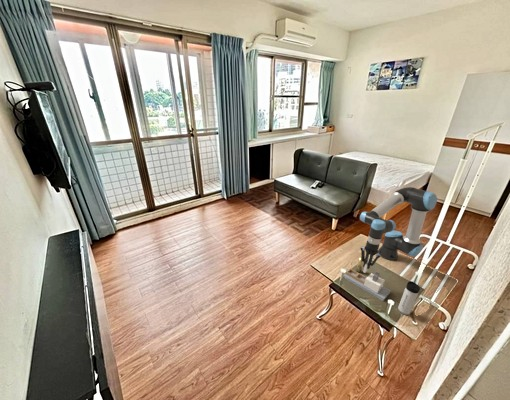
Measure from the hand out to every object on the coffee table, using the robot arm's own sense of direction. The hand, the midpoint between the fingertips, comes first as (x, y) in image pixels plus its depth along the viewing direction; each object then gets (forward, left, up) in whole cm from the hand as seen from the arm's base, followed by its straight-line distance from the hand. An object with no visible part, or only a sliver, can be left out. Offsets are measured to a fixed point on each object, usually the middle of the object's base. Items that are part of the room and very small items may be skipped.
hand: (364, 271), depth 151 cm
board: (0, +3, -10) cm, 10 cm away
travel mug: (+4, +28, -10) cm, 30 cm away
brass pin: (-11, -7, -10) cm, 17 cm away
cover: (0, +7, -7) cm, 10 cm away
